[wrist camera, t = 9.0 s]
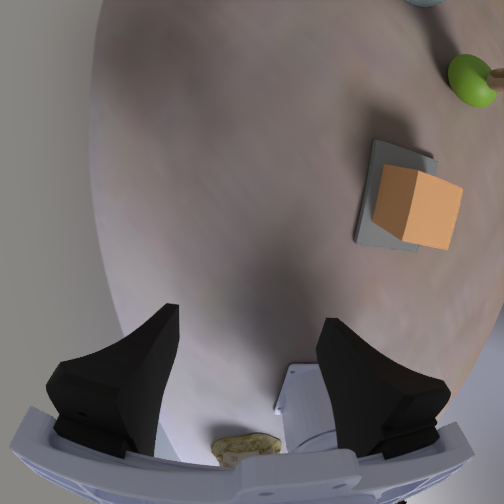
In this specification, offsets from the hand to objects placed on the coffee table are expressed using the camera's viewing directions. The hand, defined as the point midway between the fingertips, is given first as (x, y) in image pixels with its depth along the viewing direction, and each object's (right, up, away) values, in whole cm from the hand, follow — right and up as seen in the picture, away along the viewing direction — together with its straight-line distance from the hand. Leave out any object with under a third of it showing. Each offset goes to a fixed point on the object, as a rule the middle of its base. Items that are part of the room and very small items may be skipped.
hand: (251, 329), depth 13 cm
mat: (+13, +8, +8) cm, 18 cm away
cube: (+13, +8, +8) cm, 17 cm away
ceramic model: (-1, -29, +23) cm, 37 cm away
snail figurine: (+20, +20, +4) cm, 29 cm away
